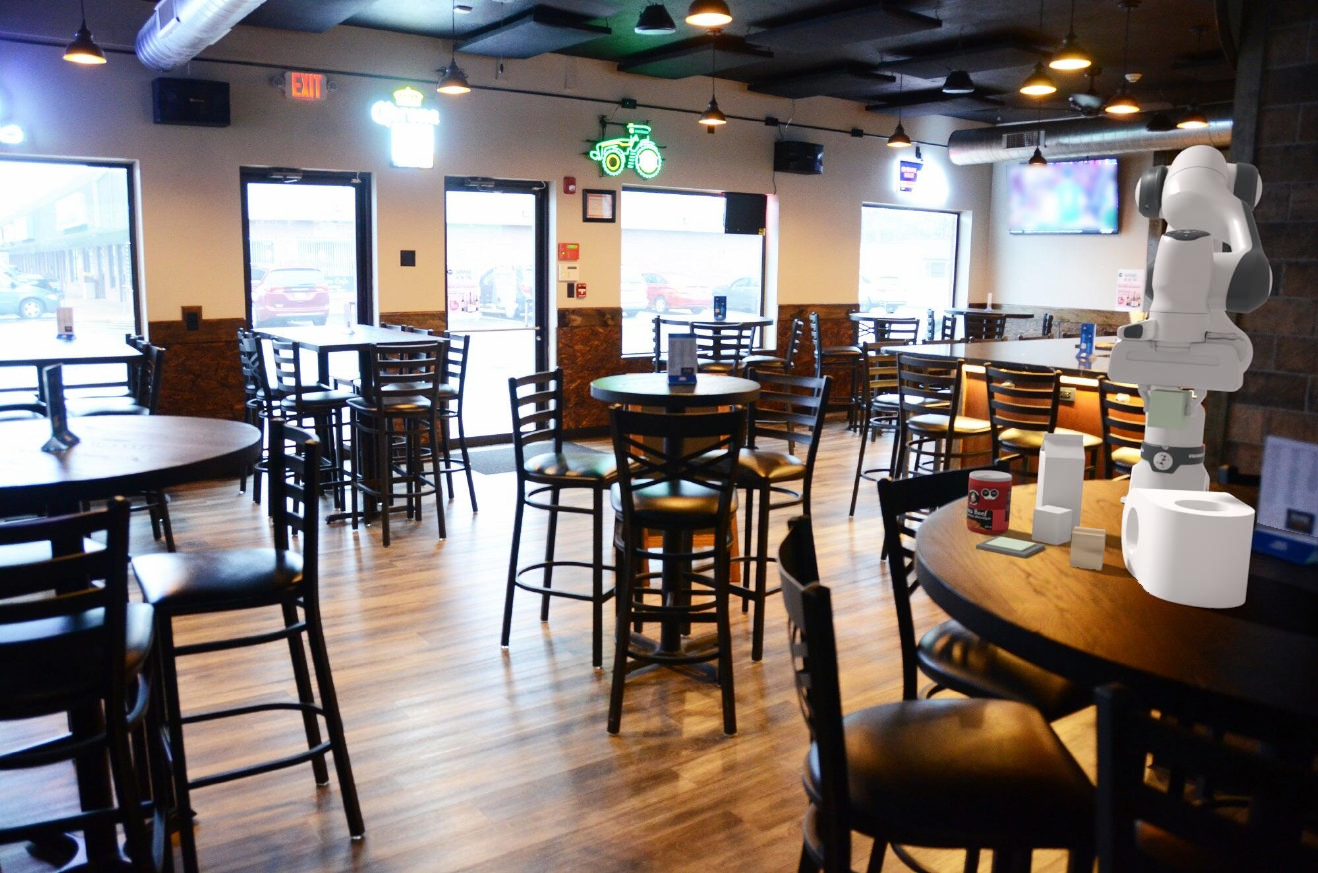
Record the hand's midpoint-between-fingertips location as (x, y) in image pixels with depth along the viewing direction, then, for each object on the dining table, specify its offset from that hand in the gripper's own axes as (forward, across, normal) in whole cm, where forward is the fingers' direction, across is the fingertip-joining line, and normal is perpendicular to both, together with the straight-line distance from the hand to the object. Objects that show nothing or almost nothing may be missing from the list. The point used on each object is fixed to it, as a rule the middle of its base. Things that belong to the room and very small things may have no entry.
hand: (1169, 414), depth 173 cm
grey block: (+27, +21, -7) cm, 34 cm away
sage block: (+2, 0, 0) cm, 2 cm away
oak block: (+27, +10, +5) cm, 29 cm away
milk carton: (+27, +23, -15) cm, 38 cm away
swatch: (+27, +24, +4) cm, 36 cm away
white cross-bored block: (+27, -6, +4) cm, 28 cm away
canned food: (+27, +33, -6) cm, 43 cm away
